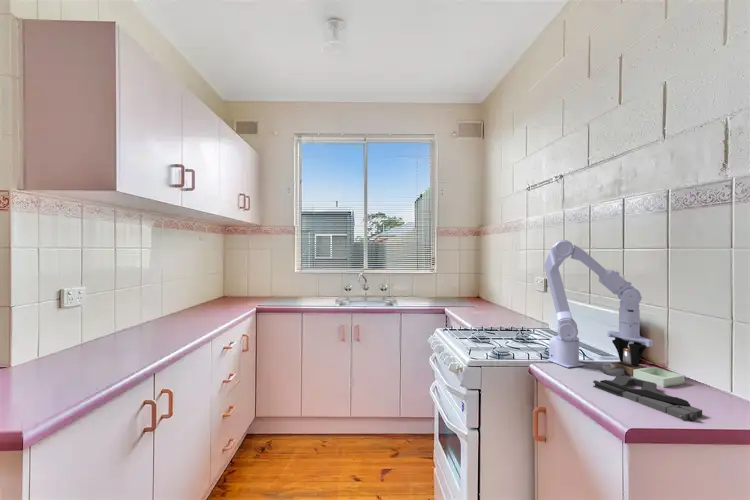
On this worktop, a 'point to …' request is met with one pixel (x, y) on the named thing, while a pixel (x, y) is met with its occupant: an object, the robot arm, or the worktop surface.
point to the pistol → (649, 397)
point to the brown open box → (620, 369)
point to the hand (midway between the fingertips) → (629, 363)
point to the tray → (659, 376)
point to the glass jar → (627, 357)
